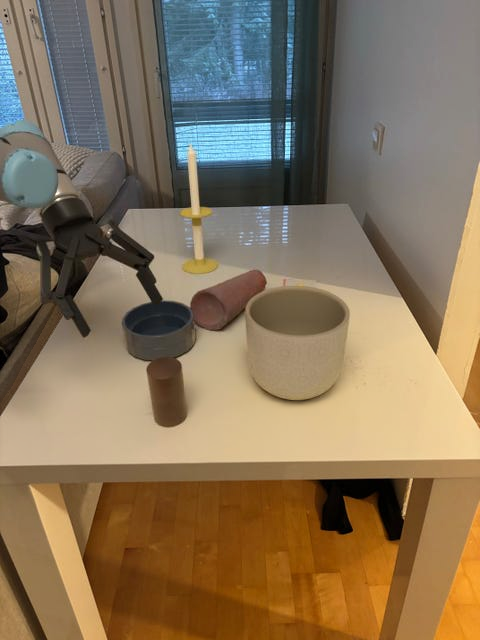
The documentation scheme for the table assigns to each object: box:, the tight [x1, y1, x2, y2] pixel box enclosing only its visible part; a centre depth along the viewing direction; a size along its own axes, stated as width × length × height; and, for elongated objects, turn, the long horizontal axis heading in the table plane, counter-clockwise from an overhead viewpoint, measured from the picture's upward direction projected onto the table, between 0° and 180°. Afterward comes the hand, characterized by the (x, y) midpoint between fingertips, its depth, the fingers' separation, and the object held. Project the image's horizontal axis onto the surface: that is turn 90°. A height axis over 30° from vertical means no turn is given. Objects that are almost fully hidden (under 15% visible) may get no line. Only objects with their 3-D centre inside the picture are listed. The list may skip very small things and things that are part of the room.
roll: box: [145, 357, 188, 428], centre depth 75 cm, size 6×6×10 cm
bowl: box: [121, 299, 196, 361], centre depth 95 cm, size 14×14×6 cm
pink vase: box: [189, 269, 268, 331], centre depth 105 cm, size 21×9×9 cm, turn 151°
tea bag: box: [282, 278, 317, 288], centre depth 100 cm, size 4×7×10 cm, turn 79°
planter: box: [244, 285, 351, 401], centre depth 80 cm, size 17×17×15 cm
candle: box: [179, 141, 219, 275], centre depth 120 cm, size 10×10×32 cm
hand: (125, 318), depth 76 cm, fingers open, 13 cm apart
